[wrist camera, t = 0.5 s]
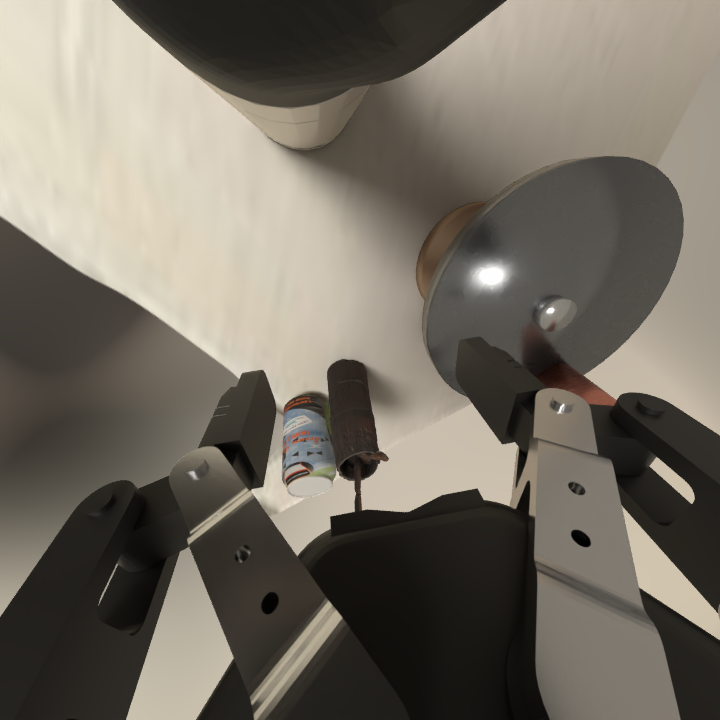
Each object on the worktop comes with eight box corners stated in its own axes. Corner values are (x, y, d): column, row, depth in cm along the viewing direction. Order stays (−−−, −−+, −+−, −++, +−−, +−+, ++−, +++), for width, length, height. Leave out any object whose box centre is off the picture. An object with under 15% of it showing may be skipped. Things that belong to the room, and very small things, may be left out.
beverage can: (313, 380, 36) (313, 458, 26) (340, 413, 40) (349, 491, 30) (274, 400, 37) (259, 482, 27) (304, 430, 41) (301, 511, 31)
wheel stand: (429, 196, 26) (489, 207, 17) (541, 206, 28) (646, 221, 19) (407, 313, 32) (441, 365, 24) (498, 315, 34) (561, 363, 25)
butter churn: (378, 328, 33) (525, 680, 10) (393, 385, 38) (510, 697, 15) (306, 350, 33) (288, 740, 10) (331, 403, 39) (355, 735, 16)
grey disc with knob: (386, 249, 17) (427, 289, 11) (688, 89, 15) (958, 27, 9) (453, 419, 27) (493, 490, 21) (638, 342, 25) (744, 397, 19)
